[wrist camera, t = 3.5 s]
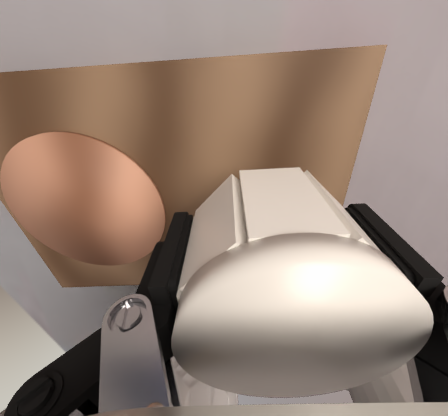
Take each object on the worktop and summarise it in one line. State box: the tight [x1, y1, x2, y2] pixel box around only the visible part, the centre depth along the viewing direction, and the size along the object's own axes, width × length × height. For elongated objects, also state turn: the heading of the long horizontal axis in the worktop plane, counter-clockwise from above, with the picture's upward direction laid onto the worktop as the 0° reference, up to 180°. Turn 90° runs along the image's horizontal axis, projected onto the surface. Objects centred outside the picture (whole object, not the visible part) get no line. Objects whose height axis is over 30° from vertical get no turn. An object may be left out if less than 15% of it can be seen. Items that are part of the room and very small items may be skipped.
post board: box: [0, 45, 387, 287], centre depth 10 cm, size 20×14×8 cm
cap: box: [171, 167, 434, 398], centre depth 8 cm, size 7×7×5 cm
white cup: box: [172, 356, 238, 406], centre depth 19 cm, size 8×8×10 cm
